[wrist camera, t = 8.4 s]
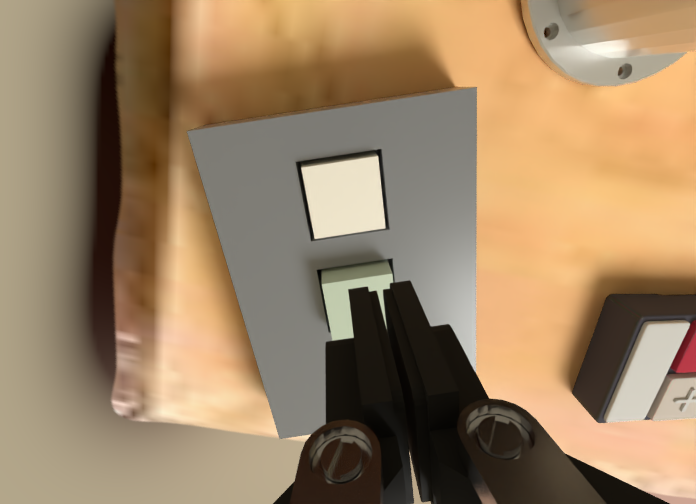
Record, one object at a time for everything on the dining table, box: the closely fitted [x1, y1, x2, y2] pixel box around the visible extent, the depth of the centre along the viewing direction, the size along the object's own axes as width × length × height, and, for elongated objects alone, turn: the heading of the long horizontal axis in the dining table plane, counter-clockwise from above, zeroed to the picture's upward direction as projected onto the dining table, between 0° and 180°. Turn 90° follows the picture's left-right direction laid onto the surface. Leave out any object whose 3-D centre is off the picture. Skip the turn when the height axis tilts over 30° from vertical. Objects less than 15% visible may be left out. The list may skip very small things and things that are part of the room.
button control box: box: [572, 294, 696, 423], centre depth 32 cm, size 11×4×15 cm
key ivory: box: [301, 150, 386, 239], centre depth 23 cm, size 4×4×2 cm
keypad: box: [187, 87, 477, 439], centre depth 27 cm, size 24×16×4 cm, turn 8°
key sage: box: [322, 259, 393, 341], centre depth 25 cm, size 4×4×2 cm
